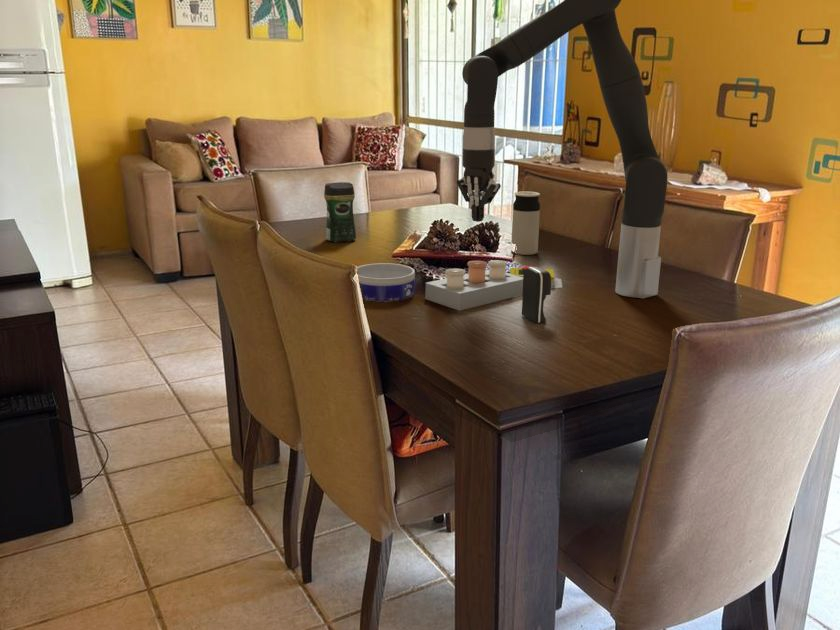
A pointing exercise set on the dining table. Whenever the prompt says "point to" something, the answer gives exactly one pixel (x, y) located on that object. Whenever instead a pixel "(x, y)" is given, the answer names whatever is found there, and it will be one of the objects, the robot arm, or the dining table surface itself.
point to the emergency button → (554, 281)
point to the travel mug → (526, 222)
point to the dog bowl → (386, 282)
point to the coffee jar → (340, 211)
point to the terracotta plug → (476, 272)
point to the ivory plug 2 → (497, 269)
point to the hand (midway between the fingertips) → (477, 220)
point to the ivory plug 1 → (455, 278)
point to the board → (474, 291)
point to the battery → (535, 293)
